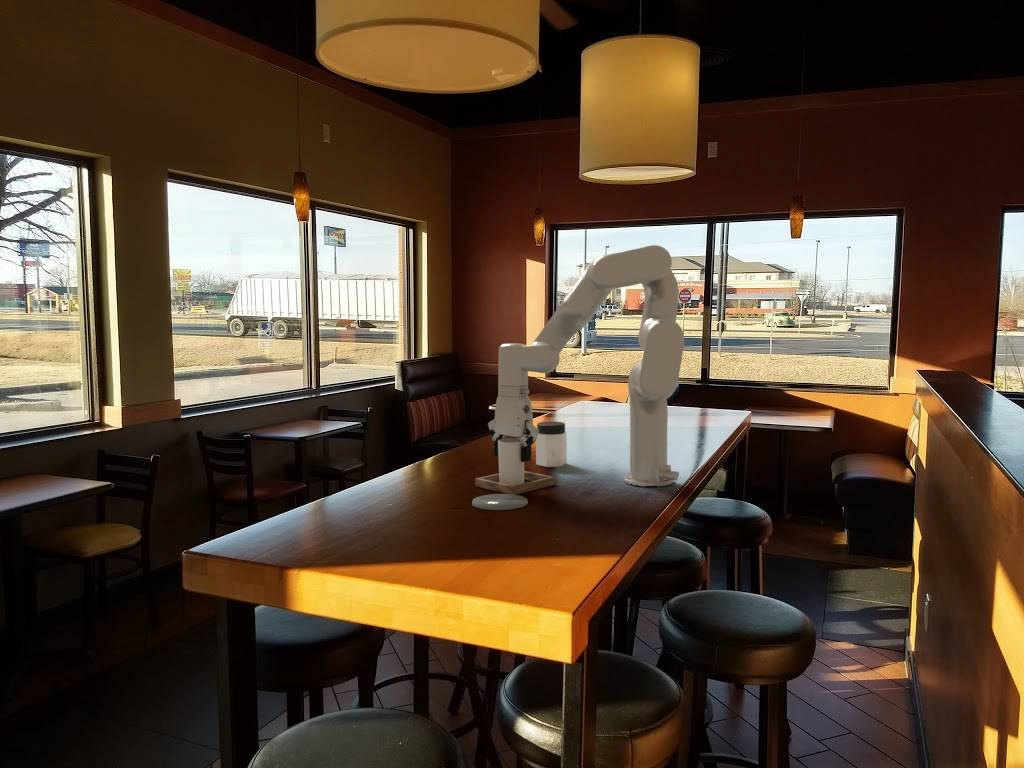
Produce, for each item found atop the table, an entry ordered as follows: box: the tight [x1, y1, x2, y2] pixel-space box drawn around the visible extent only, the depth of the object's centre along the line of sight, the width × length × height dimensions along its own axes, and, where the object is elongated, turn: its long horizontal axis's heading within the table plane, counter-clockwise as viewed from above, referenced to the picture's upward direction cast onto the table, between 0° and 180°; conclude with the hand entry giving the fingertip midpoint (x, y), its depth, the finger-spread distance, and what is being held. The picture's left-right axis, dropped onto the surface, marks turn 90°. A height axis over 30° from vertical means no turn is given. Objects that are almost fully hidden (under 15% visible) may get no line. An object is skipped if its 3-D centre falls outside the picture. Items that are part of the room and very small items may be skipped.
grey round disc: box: [471, 493, 529, 511], centre depth 179 cm, size 13×13×1 cm
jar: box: [535, 420, 568, 468], centre depth 222 cm, size 9×8×12 cm
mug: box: [497, 437, 525, 486], centre depth 196 cm, size 10×7×12 cm, turn 150°
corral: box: [474, 470, 556, 495], centre depth 197 cm, size 14×15×2 cm
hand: (512, 458), depth 196 cm, fingers open, 9 cm apart
